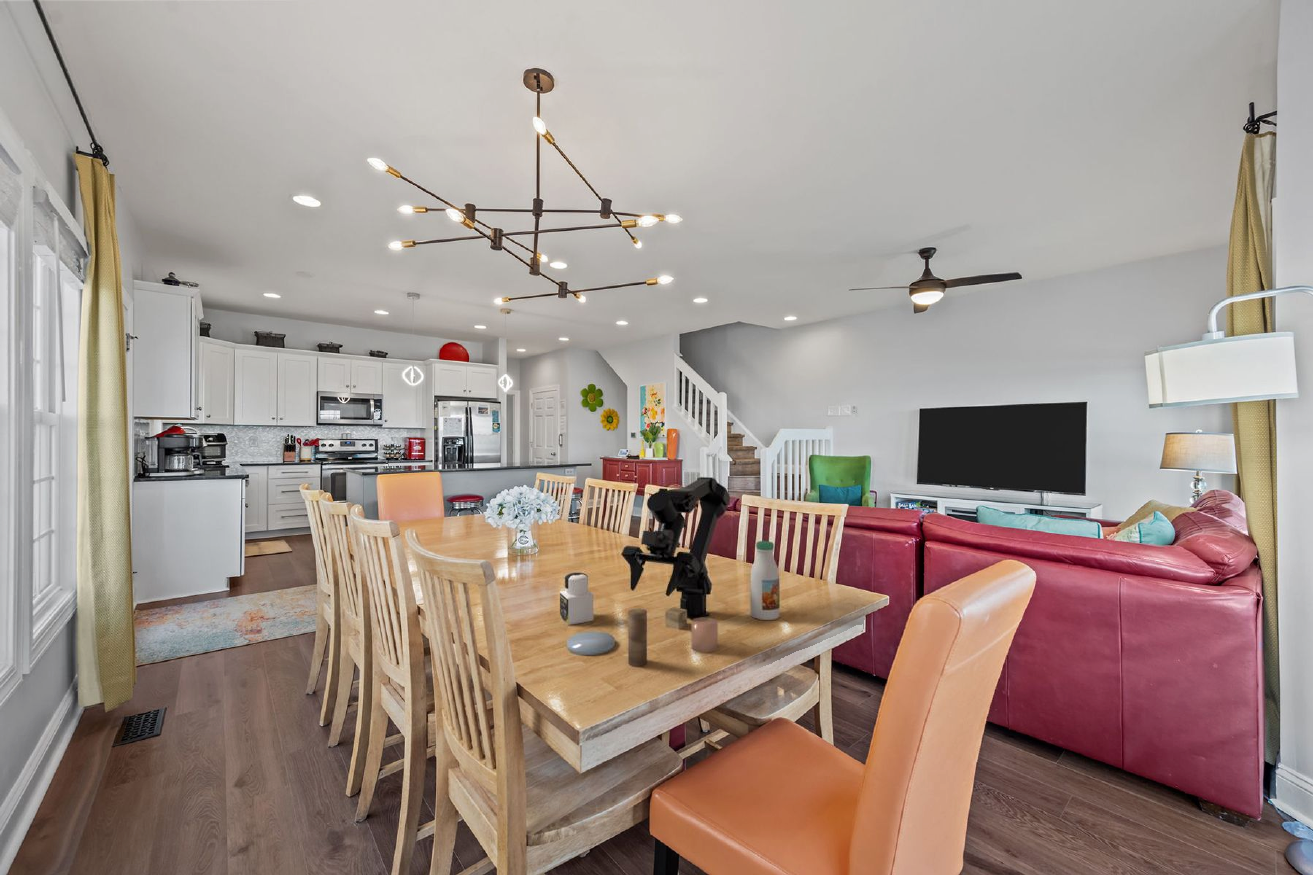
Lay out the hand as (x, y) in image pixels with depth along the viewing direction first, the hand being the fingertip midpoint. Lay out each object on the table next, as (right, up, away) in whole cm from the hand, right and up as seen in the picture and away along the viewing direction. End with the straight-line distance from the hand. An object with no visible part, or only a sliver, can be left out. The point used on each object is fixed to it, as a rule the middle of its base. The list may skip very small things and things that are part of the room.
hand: (649, 592), depth 121 cm
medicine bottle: (-20, -13, +19) cm, 30 cm away
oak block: (+7, -13, +14) cm, 20 cm away
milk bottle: (+31, -13, +21) cm, 40 cm away
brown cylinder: (-2, -13, -8) cm, 15 cm away
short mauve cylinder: (+13, -13, 0) cm, 18 cm away
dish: (-14, -13, +2) cm, 19 cm away
